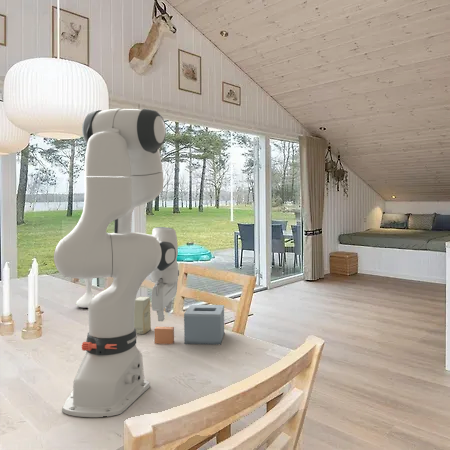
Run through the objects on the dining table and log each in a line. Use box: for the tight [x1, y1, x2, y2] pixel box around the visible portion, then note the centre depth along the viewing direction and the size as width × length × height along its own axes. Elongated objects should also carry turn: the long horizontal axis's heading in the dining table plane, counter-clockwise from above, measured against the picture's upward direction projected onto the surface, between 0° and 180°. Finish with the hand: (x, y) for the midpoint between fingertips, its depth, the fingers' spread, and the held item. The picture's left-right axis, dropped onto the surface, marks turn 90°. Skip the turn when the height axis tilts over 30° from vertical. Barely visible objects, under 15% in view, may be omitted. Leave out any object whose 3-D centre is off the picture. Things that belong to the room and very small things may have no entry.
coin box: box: [183, 304, 225, 346], centre depth 139 cm, size 12×12×10 cm
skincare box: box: [134, 296, 152, 335], centre depth 148 cm, size 6×4×12 cm
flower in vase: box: [75, 278, 96, 309], centre depth 184 cm, size 13×11×25 cm
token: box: [153, 326, 175, 345], centre depth 136 cm, size 2×6×5 cm, turn 84°
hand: (164, 316), depth 136 cm, fingers open, 8 cm apart
